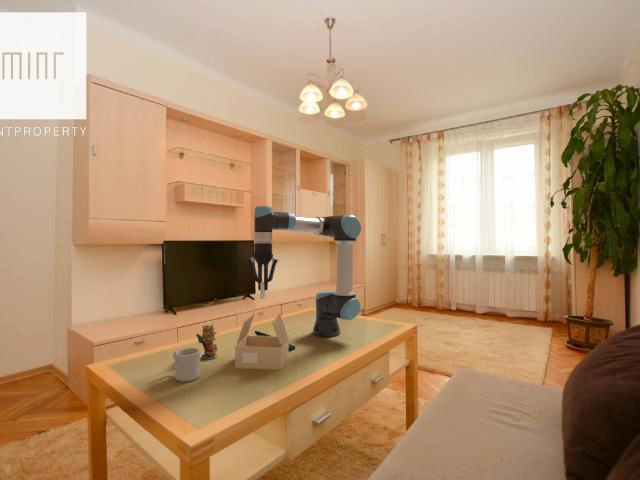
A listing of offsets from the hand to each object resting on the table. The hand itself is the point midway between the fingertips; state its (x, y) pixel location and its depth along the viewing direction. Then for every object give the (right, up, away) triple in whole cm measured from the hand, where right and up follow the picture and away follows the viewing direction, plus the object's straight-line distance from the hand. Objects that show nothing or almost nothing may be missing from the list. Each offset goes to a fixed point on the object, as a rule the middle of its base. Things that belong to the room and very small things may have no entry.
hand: (262, 297), depth 143 cm
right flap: (+9, -18, -1) cm, 21 cm away
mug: (-27, -28, -14) cm, 42 cm away
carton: (0, -28, 0) cm, 28 cm away
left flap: (-9, -18, +1) cm, 20 cm away
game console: (+3, -28, +17) cm, 33 cm away
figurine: (-26, -28, +6) cm, 38 cm away
